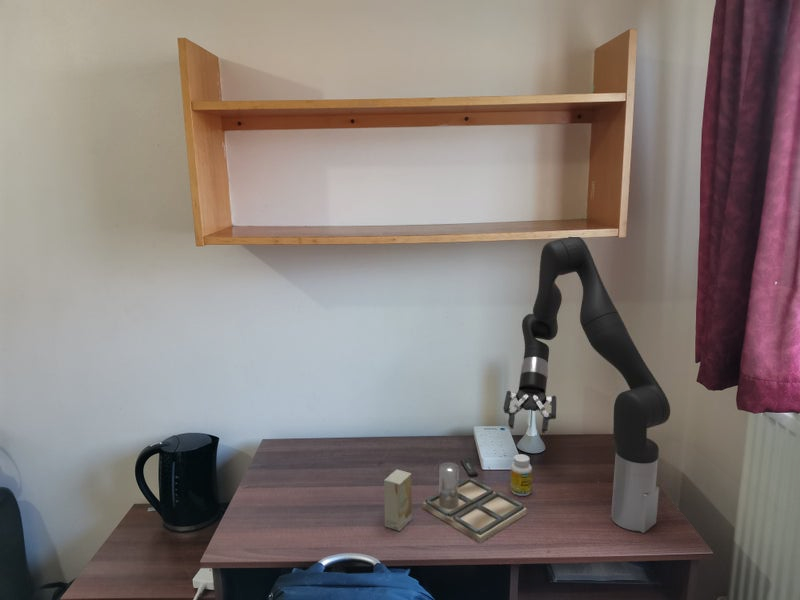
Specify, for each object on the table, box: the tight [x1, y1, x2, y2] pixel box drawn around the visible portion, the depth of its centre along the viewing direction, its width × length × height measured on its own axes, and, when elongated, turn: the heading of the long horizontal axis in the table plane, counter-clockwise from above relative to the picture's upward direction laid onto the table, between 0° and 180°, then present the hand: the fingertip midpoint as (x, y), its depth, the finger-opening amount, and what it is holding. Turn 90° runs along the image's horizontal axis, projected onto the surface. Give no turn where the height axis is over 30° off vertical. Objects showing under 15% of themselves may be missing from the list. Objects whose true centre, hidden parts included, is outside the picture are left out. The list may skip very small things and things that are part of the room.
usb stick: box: [460, 457, 479, 478], centre depth 167 cm, size 10×3×2 cm, turn 10°
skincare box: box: [383, 468, 413, 532], centre depth 141 cm, size 6×4×12 cm
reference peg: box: [438, 462, 460, 509], centre depth 146 cm, size 5×5×10 cm
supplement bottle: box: [510, 453, 533, 497], centre depth 154 cm, size 5×5×10 cm
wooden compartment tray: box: [422, 477, 527, 544], centre depth 146 cm, size 19×17×2 cm
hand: (527, 429), depth 161 cm, fingers open, 8 cm apart
